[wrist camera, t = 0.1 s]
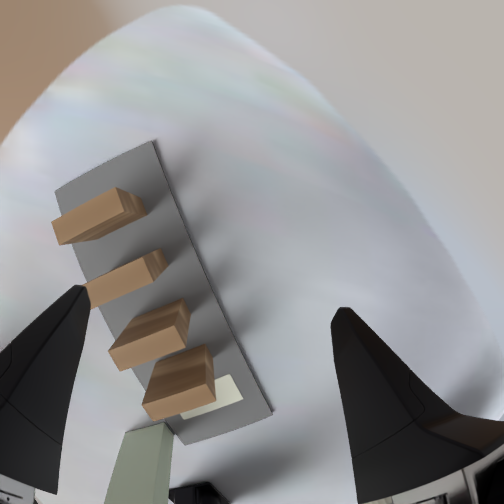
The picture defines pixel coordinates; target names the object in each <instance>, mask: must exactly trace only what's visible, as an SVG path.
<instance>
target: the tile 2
mask: <svg viewBox="0 0 504 504" xmlns="http://www.w3.org/2000/svg"><path fill="white" fill-rule="evenodd" d="M190 317H191V314H190V312H189V310H188V307H187V305H186V303H185V301H184V299H183V298H181V299H179V300H176V301H174V302H172V303H169V304H167V305H164V306H162V307H160V308H157V309H155V310H152V311H150V312H147V313H145V314H143V315H140V316H138V317H135V318H133V319H132V320H131V321H130V322H129V323H128V325H127V326H126V327H125V329H124V330H123V331H122V333H121V334H120V335H119V337H118V338H117V339H116V341H115V342H114V344H113V345H112V346H111V348H110V349H109V350H108V352H109V354H110V356H111V357H112V359H113V361H114V363H115V364H116V366H117V368H118V369H119V371H123V370H126V369H129V368H132V367H135V366H137V365H140V364H143V363H146V362H148V361H151V360H154V359H157V358H159V357H162V356H165V355H167V354H170V353H173V352H175V351H178V350H181V349H183V348H186V343H187V336H188V330H189V323H190Z"/></svg>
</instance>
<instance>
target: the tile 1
mask: <svg viewBox="0 0 504 504" xmlns="http://www.w3.org/2000/svg"><path fill="white" fill-rule="evenodd" d="M167 267H168V264H167V261H166V259H165V257H164V254H163V252H162V250H161V248H160V249H157V250H155V251H153V252H151V253H148V254H146V255H144V256H142V257H140V258H137V259H135V260H133V261H131V262H129V263H126V264H124V265H122V266H120V267H118V268H116V269H113V270H111V271H109V272H107V273H105V274H103V275H101V276H99V277H97V278H95V279H93V280H91V281H89V282H87V283H85V284H83V285H82V286H85V287H86V288H87V291H88V295H89V298H90V302H91V309H93V308H95V307H98V306H100V305H102V304H104V303H107V302H109V301H111V300H113V299H116V298H118V297H120V296H123V295H125V294H127V293H129V292H132V291H134V290H136V289H139V288H141V287H143V286H146V285H148V284H150V283H152V282H154V281H155V280H156V279H157V278H158V277H159V276H160V275H161V273H162V272H163V271H164V270H165V269H166V268H167ZM91 309H90V310H91Z"/></svg>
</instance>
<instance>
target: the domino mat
mask: <svg viewBox="0 0 504 504" xmlns="http://www.w3.org/2000/svg"><path fill="white" fill-rule="evenodd" d="M114 187H117V188H119V189H121V190H124V191H126V192H129V193H131V194H133V195H136V196H138V197H141V200H142V202H143V205H144V208H145V210H146V213H147V216H145V217H143V218H141V219H138V220H136V221H134V222H132V223H130V224H128V225H126V226H124V227H122V228H119V229H117V230H115V231H113V232H111V233H109V234H107V235H105V236H103V237H101V238H99V239H97V240H91V241H85V242H78V243H72V246H73V249H74V251H75V254H76V257H77V259H78V262H79V264H80V267H81V269H82V271H83V274H84V276H85V278H86V281H87V282H89V281H91V280H93V279H95V278H97V277H99V276H101V275H103V274H105V273H107V272H109V271H111V270H113V269H116V268H118V267H120V266H122V265H124V264H126V263H129V262H131V261H133V260H135V259H137V258H140V257H142V256H144V255H146V254H148V253H151V252H153V251H155V250H157V249H160V248H161V250H162V252H163V254H164V257H165V259H166V261H167V264H168V267H167V268H166V269H165V270H164V271H163V272H162V273H161V275H160V276H159V277H158V278H157V279H156V280H155V281H154V282H152V283H150V284H148V285H146V286H143V287H141V288H139V289H136V290H134V291H132V292H129V293H127V294H125V295H123V296H120V297H118V298H116V299H113V300H111V301H109V302H107V303H104V304H102V305H100V306H98V307H99V309H100V311H101V313H102V315H103V317H104V319H105V321H106V323H107V325H108V327H109V329H110V331H111V333H112V335H113V337H114V338H115V340H116V339H117V338H118V337H119V335H120V334H121V333H122V331H123V330H124V329H125V327H126V326H127V325H128V323H129V322H130V321H131V320H132V319H133V318H135V317H138V316H140V315H143V314H145V313H147V312H150V311H152V310H155V309H157V308H160V307H162V306H164V305H167V304H169V303H172V302H174V301H176V300H179V299H181V298H183V299H184V301H185V303H186V305H187V307H188V310H189V312H190V314H191V317H190V323H189V330H188V336H187V343H186V348H183V349H181V350H178V351H175V352H173V353H170V354H167V355H165V356H162V357H159V358H157V359H154V360H151V361H148V362H146V363H143V364H140V365H137V366H135V367H132V370H133V372H134V373H135V375H136V377H137V378H138V380H139V381H140V383H141V385H142V386H143V388H144V389H145V391H146V390H147V387H148V384H149V380H150V377H151V374H152V371H153V368H154V365H155V363H156V362H158V361H161V360H164V359H166V358H169V357H172V356H174V355H177V354H179V353H182V352H185V351H187V350H190V349H192V348H195V347H198V346H200V345H203V344H206V346H207V348H208V350H209V352H210V354H211V355H212V357H213V366H214V379H215V391H216V401H215V402H213V403H210V404H207V405H204V406H201V407H198V408H195V409H192V410H189V411H186V412H183V413H180V414H177V415H173V416H170V417H167V418H164V419H165V420H166V421H167V423H168V424H169V426H170V427H171V428H172V430H173V431H174V432H175V434H176V435H177V436H178V438H179V439H180V440H181V441H182V443H183V444H184V445H188V444H192V443H195V442H199V441H202V440H205V439H209V438H212V437H215V436H218V435H221V434H224V433H227V432H230V431H233V430H236V429H238V428H241V427H244V426H246V425H249V424H252V423H254V422H257V421H259V420H262V419H264V418H267V417H269V416H272V415H273V414H272V412H271V410H270V408H269V406H268V404H267V402H266V400H265V398H264V397H263V395H262V393H261V391H260V389H259V387H258V385H257V383H256V381H255V379H254V377H253V375H252V373H251V371H250V369H249V367H248V365H247V363H246V361H245V359H244V357H243V355H242V353H241V351H240V348H239V346H238V344H237V342H236V340H235V338H234V336H233V334H232V332H231V330H230V328H229V325H228V323H227V321H226V319H225V317H224V315H223V312H222V310H221V308H220V306H219V304H218V302H217V299H216V297H215V295H214V293H213V291H212V288H211V286H210V284H209V282H208V279H207V277H206V275H205V272H204V270H203V268H202V266H201V263H200V261H199V259H198V256H197V254H196V252H195V249H194V247H193V245H192V242H191V240H190V237H189V235H188V233H187V230H186V228H185V225H184V223H183V221H182V218H181V216H180V213H179V211H178V208H177V206H176V203H175V201H174V198H173V196H172V193H171V190H170V188H169V185H168V183H167V180H166V178H165V175H164V172H163V170H162V167H161V164H160V162H159V159H158V156H157V154H156V151H155V148H154V146H153V143H152V141H150V142H148V143H146V144H143V145H141V146H139V147H137V148H135V149H132V150H130V151H128V152H126V153H124V154H122V155H120V156H118V157H116V158H114V159H112V160H110V161H108V162H106V163H104V164H102V165H100V166H98V167H96V168H95V169H93V170H91V171H89V172H87V173H85V174H84V175H82V176H80V177H78V178H76V179H75V180H73V181H71V182H69V183H68V184H66V185H64V186H63V187H61V188H59V189H58V190H56V191H55V195H56V198H57V202H58V205H59V208H60V211H61V215H64V214H66V213H68V212H69V211H71V210H73V209H75V208H76V207H78V206H80V205H82V204H84V203H86V202H87V201H89V200H91V199H93V198H95V197H97V196H99V195H101V194H103V193H104V192H106V191H108V190H110V189H112V188H114Z"/></svg>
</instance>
